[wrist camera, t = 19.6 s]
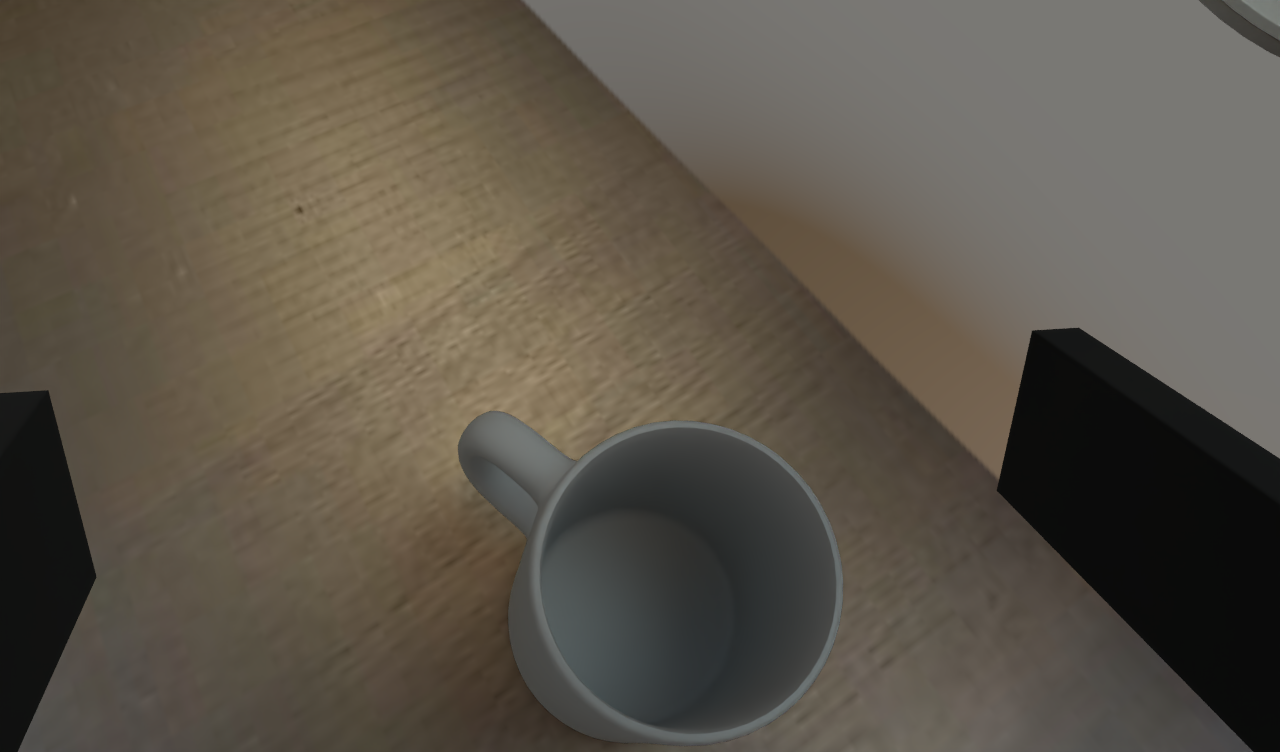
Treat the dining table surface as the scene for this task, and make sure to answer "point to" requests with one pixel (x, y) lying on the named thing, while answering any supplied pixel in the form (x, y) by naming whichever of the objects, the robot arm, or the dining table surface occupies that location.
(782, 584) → the mug
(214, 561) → the dining table surface
